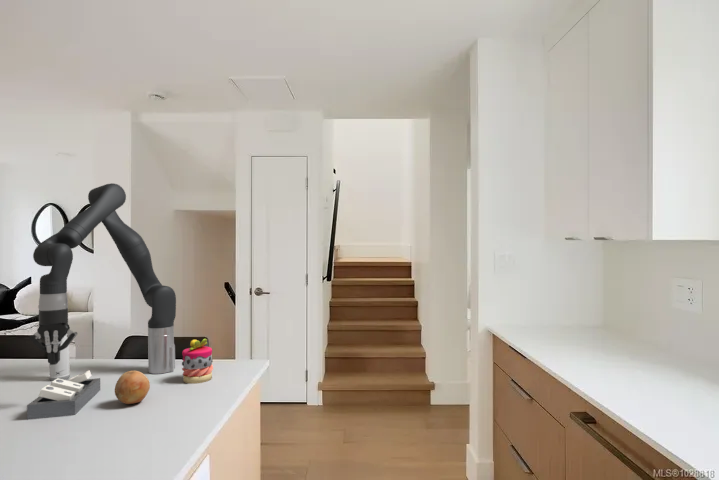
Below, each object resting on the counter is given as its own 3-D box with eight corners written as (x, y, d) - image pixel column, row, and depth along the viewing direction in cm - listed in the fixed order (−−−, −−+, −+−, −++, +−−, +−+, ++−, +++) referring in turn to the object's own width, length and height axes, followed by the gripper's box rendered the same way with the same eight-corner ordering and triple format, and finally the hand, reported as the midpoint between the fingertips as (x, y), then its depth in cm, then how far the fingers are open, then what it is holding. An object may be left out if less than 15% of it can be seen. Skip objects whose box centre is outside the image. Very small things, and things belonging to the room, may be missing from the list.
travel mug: (60, 381, 166) (60, 326, 167) (45, 380, 168) (44, 326, 168) (74, 376, 173) (74, 323, 173) (59, 376, 174) (59, 323, 174)
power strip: (107, 382, 164) (107, 371, 164) (75, 414, 132) (74, 400, 132) (70, 385, 161) (69, 374, 161) (27, 419, 129) (27, 405, 129)
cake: (175, 382, 163) (175, 340, 163) (196, 374, 173) (196, 334, 173) (199, 385, 159) (198, 341, 159) (219, 376, 169) (218, 336, 169)
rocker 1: (73, 398, 138) (75, 391, 138) (67, 403, 134) (70, 395, 134) (44, 391, 136) (47, 384, 136) (38, 396, 132) (41, 388, 132)
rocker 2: (91, 375, 153) (89, 369, 153) (87, 379, 149) (84, 373, 148) (66, 385, 151) (63, 380, 151) (61, 389, 147) (58, 383, 146)
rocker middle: (81, 390, 145) (84, 384, 146) (76, 395, 141) (79, 388, 141) (54, 384, 144) (57, 377, 144) (49, 388, 139) (51, 381, 139)
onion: (157, 399, 144) (157, 367, 145) (132, 410, 135) (131, 376, 135) (133, 396, 148) (133, 365, 148) (107, 407, 138) (106, 373, 138)
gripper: (81, 305, 147) (82, 359, 147) (34, 307, 144) (34, 362, 144) (73, 308, 140) (73, 365, 140) (23, 310, 137) (23, 368, 136)
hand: (53, 364), depth 142 cm, fingers closed
